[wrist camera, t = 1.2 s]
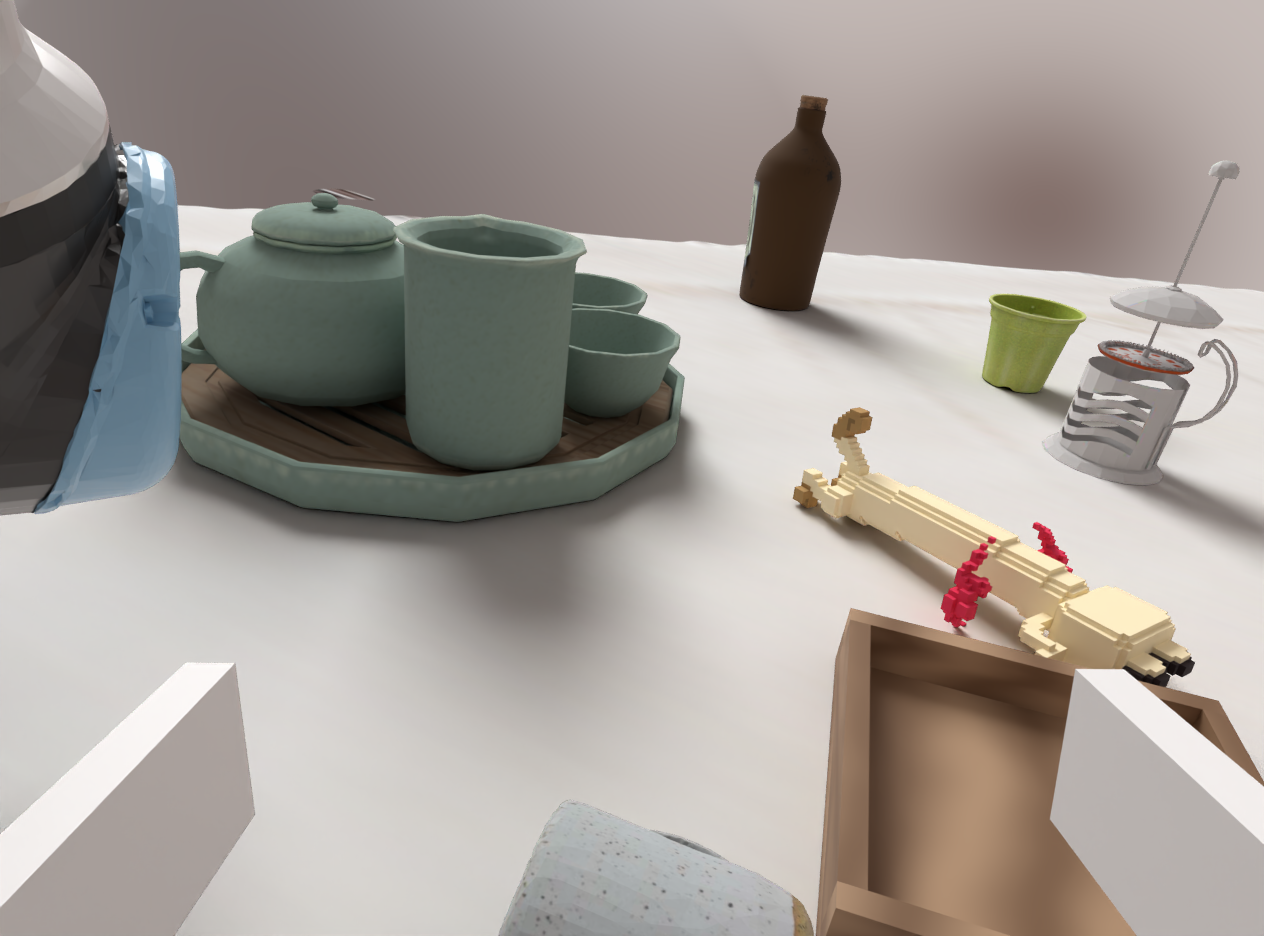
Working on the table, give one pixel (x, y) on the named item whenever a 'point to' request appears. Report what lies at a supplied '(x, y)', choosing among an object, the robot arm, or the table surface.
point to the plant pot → (1026, 340)
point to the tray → (959, 789)
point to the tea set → (421, 366)
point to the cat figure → (1002, 570)
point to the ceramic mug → (641, 885)
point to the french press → (1129, 446)
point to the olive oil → (791, 214)
